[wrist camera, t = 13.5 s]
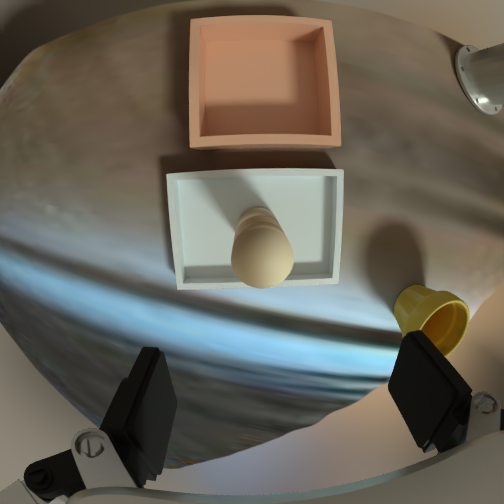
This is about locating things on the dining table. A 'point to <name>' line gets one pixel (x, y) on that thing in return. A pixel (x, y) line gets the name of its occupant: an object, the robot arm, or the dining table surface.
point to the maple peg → (261, 249)
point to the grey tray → (241, 198)
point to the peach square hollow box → (263, 83)
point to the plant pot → (433, 316)
